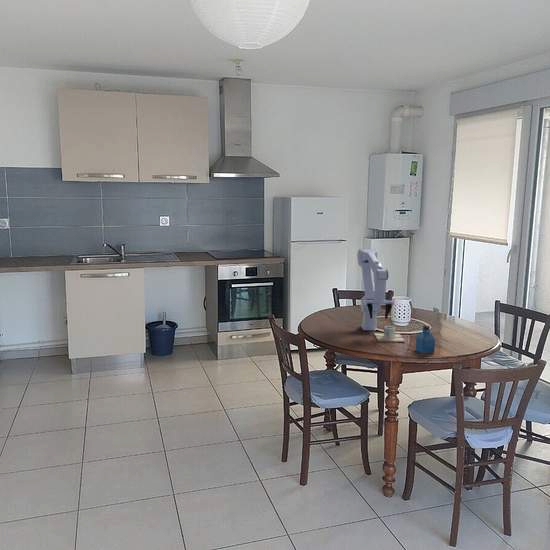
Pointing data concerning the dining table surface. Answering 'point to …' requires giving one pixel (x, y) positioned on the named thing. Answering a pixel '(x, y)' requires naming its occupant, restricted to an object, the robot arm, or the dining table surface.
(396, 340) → the post stand
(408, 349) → the dining table surface
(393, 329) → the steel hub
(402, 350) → the dining table surface
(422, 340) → the perfume bottle
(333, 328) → the dining table surface
